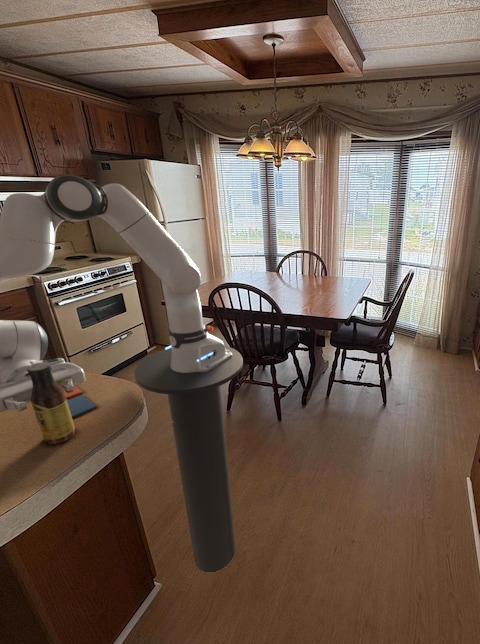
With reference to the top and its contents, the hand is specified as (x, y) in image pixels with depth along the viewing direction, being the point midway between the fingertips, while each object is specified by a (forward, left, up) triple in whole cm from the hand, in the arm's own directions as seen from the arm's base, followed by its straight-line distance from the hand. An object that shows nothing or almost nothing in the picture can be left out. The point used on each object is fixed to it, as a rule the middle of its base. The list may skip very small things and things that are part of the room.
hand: (47, 398), depth 80 cm
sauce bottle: (0, +1, -11) cm, 11 cm away
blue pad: (-7, -10, -11) cm, 17 cm away
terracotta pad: (-8, -21, -11) cm, 25 cm away
